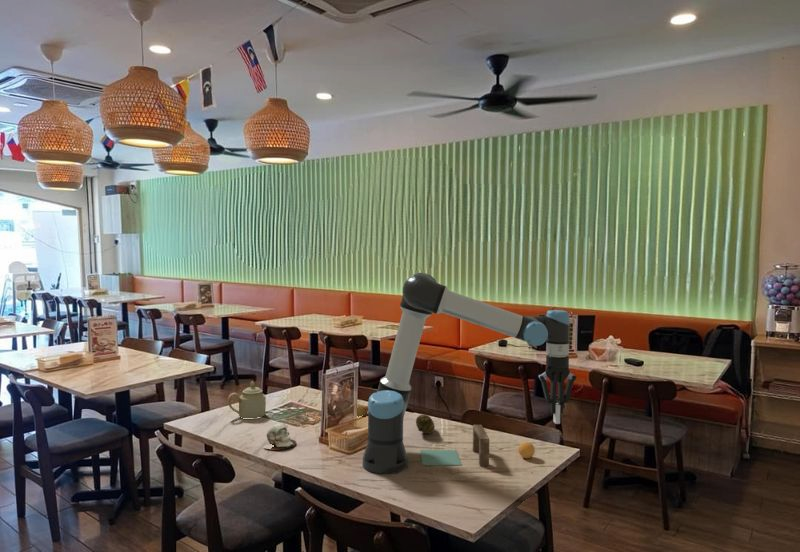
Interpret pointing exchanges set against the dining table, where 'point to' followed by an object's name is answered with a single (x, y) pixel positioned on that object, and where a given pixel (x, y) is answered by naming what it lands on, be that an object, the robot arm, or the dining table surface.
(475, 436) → the bridge
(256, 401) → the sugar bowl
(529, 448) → the ball
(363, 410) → the croissant
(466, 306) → the robot arm
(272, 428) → the skull
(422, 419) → the dark green avocado
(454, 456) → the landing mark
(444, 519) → the dining table surface
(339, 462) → the dining table surface
